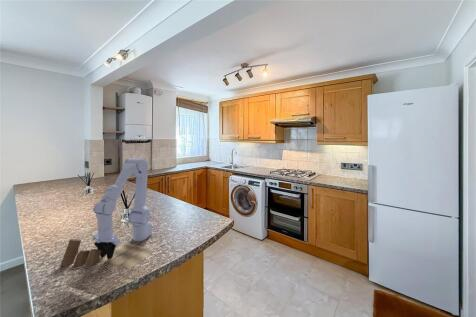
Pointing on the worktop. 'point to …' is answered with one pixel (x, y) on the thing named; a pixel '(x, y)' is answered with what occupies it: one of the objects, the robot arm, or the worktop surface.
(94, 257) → the wooden block set
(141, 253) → the floor panel
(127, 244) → the oak plank
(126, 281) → the worktop surface
